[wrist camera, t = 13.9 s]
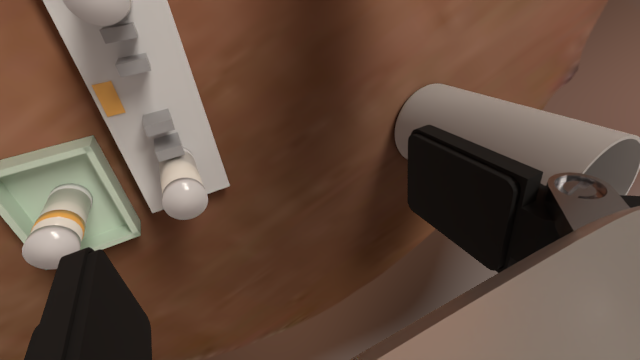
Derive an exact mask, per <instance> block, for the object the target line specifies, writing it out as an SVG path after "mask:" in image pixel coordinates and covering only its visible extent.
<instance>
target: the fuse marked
mask: <svg viewBox="0 0 640 360" xmlns="http://www.w3.org/2000/svg"><path fill="white" fill-rule="evenodd" d="M92 203H93V196H92V194H91V192H90V191H89V190H88V189H87V188H85V187H84V186H81V185H79V184H74V183H67V184H62V185H59V186H57V187H55V188H54V189H53V190H52V191H51V193H50V194H49V196H48V198H47V202H46V204H45V206H44V208H43V210H42V211H41V213H40V215H39V217H38V219H37V220H36V222H35V224H34V226H33V228H32V230H31V233H30V235H29V236H28V237H27V239H26V241H25V243H24V245H23V248H22V255H23V257H24V259H25V260H26V261H27V262H28V263H29V264H31V265H32V266H35V267H37V268H41V269H57V267H58V264H59V261H60V259H61V257H63V256H65V255H68V254H71V253H73V252H76V251H79V250H80V247H81V241H82V239H83V236H84V233H85V228H86V223H87V219H88V216H89V212H90V210H91V207H92Z"/></svg>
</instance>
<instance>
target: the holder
mask: <svg viewBox="0 0 640 360" xmlns="http://www.w3.org/2000/svg"><path fill="white" fill-rule="evenodd" d="M43 2H44V4H45V6H46V8H47V10H48V12H49V14H50V16H51V18H52V19H53V21H54V23H55V25H56V27H57V29H58V31H59V33H60V35H61V37H62V39H63V41H64V43H65V45H66V47H67V49H68V51H69V52H70V54H71V56H72V58H73V60H74V62H75V64H76V66H77V68H78V70H79V72H80V74H81V76H82V78H83V80H84V82H85V84H86V85H87V87H88V89H89V91H90V93H91V95H92V97H93V99H94V101H95V103H96V105H97V107H98V109H99V111H100V113H101V115H102V116H103V118H104V120H105V122H106V124H107V126H108V128H109V130H110V132H111V134H112V136H113V138H114V140H115V142H116V144H117V146H118V148H119V149H120V151H121V153H122V155H123V157H124V159H125V161H126V163H127V165H128V167H129V169H130V171H131V173H132V175H133V177H134V179H135V181H136V182H137V184H138V186H139V188H140V190H141V192H142V194H143V196H144V198H145V200H146V202H147V204H148V206H149V208H150V210H151V212H152V213H155V212H158V211H160V210H163V209H164V208H163V204H162V189H161V180H160V171H159V166H158V161H159V162H161V161H165V160H168V159H171V158H174V157H178V156H181V155H184V154H185V153H184V149H183V147H184V148H186V149H188V150H189V151H191V153H192V154H193V156H194V158H195V161H196V165H197V168H198V171H199V174H200V177H201V180H202V183H203V186H204V187H205V190H206V193H207V194H209V193H212V192H215V191H217V190H220V189H223V188H226V187H229V186H230V184H229V181H228V178H227V176H226V173H225V170H224V167H223V164H222V161H221V158H220V155H219V152H218V149H217V146H216V143H215V140H214V137H213V134H212V131H211V128H210V125H209V122H208V119H207V116H206V114H205V111H204V108H203V105H202V102H201V99H200V96H199V93H198V90H197V87H196V84H195V81H194V78H193V75H192V72H191V69H190V66H189V63H188V60H187V57H186V55H185V52H184V49H183V46H182V43H181V40H180V37H179V34H178V31H177V28H176V25H175V22H174V19H173V16H172V13H171V10H170V7H169V4H168V1H167V0H132V8H131V10H130V12H129V13H128V15H127V16H125V17H124V18H123V19H122V20H121V21H119V22H117V23H115V24H113V25H109V26H98V25H93V24H90V23H87V22H85V21H83V20H81V19H80V18H78V17H77V16H76V15H74V14H73V13H72V12H71V11H70V10H69V9H68V8H67V7H66V5H65V4H64V2H63V1H62V0H43Z"/></svg>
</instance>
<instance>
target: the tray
mask: <svg viewBox="0 0 640 360" xmlns="http://www.w3.org/2000/svg"><path fill="white" fill-rule="evenodd" d="M67 183H74V184H79V185H81V186H84V187H85V188H87V189H88V190H89V191H90V192H91V194H92V196H93V203H92V207H91V210H90V212H89V216H88V219H87V223H86V228H85V233H84V236H83V239H82V241H81V247H80V250H82V249H85V248H87V247H90V248H92V249H93V250H94V251H96V250H99V249H101V250H102V249H105V248H108V247H111V246H113V245H116V244H119V243H121V242H124V241H127V240H130V239H132V238H135V237H138V236H141V221H140V219H139V217H138V216H137V214H136V212H135V210H134V208H133V206H132V205H131V203H130V201H129V199H128V197H127V196H126V194H125V192H124V190H123V188H122V186H121V185H120V183H119V181H118V179H117V177H116V175H115V174H114V172H113V170H112V168H111V166H110V165H109V163H108V161H107V159H106V157H105V155H104V154H103V152H102V150H101V148H100V146H99V144H98V143H97V141H96V139H95V137H94V135H92V136H88V137H85V138H81V139H77V140H74V141H70V142H66V143H62V144H59V145H55V146H51V147H47V148H44V149H40V150H36V151H32V152H29V153H25V154H21V155H18V156H14V157H10V158H6V159H3V160H0V215H1V217H2V218H3V219H4V220H5V221H6V223H7V224H8V225H9V226H10V227H11V229H12V230H13V231H14V232H15V233H16V235H17V236H18V237H19V238H20V239H21V241H22V242H23V243H25V241H26V239H27V237H28V236H29V235H30V233H31V230H32V228H33V226H34V224H35V222H36V220H37V219H38V217H39V215H40V213H41V211H42V210H43V208H44V206H45V204H46V202H47V198H48V196H49V194H50V193H51V191H52V190H53V189H54V188H55V187H57V186H59V185H62V184H67ZM45 270H48V269H45Z"/></svg>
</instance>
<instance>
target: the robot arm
mask: <svg viewBox="0 0 640 360" xmlns="http://www.w3.org/2000/svg"><path fill="white" fill-rule="evenodd" d="M542 175H543V171H540V170H538V169H535V168H533V167H531V166H528V165H526V164H523V163H521V162H519V161H516V160H514V159H511V158H509V157H507V156H504V155H502V154H499V153H497V152H495V151H492V150H490V149H488V148H485V147H483V146H480V145H478V144H476V143H473V142H471V141H468V140H466V139H464V138H461V137H459V136H456V135H454V134H452V133H449V132H447V131H444V130H442V129H440V128H437V127H435V126H432V125H426V126H423V127H420V128H417V129H414V130H413V131H412V133H411V135H410V136H409V138H408V204H409V207H410V208H411V210H412V211H413V212H415V213H416V214H417V215H419V216H420V217H421V218H423V219H424V220H425V221H427V222H428V223H429V224H431V225H432V226H433V227H434V228H436V229H437V230H438V231H440V232H441V233H442V234H444V235H445V236H446V237H448V238H449V239H450V240H452V241H453V242H454V243H456V244H457V245H458V246H460V247H461V248H462V249H463V250H465V251H466V252H468V253H469V254H470V255H471V256H473V257H474V258H475V259H476V260H478V261H479V262H480V263H482V264H483V265H484V266H486V267H487V268H489V269H490V270H495V271H497V272H498V274H496V275H495V276H493V277H491V278H489V279H488V280H486V281H484V282H483V283H481V284H479V285H477V286H476V287H474V288H472V289H470V290H469V291H467V292H465V293H463V294H462V295H460V296H458V297H457V298H455V299H453V300H451V301H450V302H448V303H446V304H445V305H443V306H441V307H439V308H438V309H436V310H434V311H432V312H431V313H429V314H427V315H426V316H424V317H422V318H420V319H419V320H417V321H415V322H414V323H412V324H410V325H408V326H407V327H405V328H404V329H402V330H400V331H398V332H396V333H395V334H393V335H391V336H390V337H388V338H386V339H384V340H383V341H381V342H379V343H378V344H376V345H374V346H372V347H371V348H369V349H367V350H366V351H364V352H362V353H361V354H359V355H357V356H355V357H354V358H352V359H350V360H640V196H626V195H619V194H618V193H617V192H616V190H615V189H614V188H613V187H612V186H611V185H610V184H608V183H607V182H605V181H603V180H602V179H600V178H597V177H594V176H591V175H587V174H582V173H572V172H567V173H559V174H555V175H553V176H551V177H550V178H549V179H548V181H547V185H546V186H545V185H543V184H541V179H542ZM24 360H152V347H151V326H150V322H149V320H148V317H147V316H146V314H145V312H144V311H143V309H142V308H141V306H140V305H139V303H138V302H137V300H136V299H135V297H134V296H133V294H132V293H131V291H130V290H129V288H128V287H127V285H126V284H125V282H124V281H123V279H122V278H121V276H120V275H119V273H118V272H117V270H116V269H115V267H114V266H113V264H112V263H111V261H110V260H109V258H108V257H107V255H106V254H105V253H104V251H103V250H101V249H99V250H96V251H94V250H93V249H92V248H90V247H87V248H85V249H82V250H79V251H76V252H73V253H71V254H68V255H65V256H63V257H61V259H60V261H59V264H58V267H57V271H56V274H55V277H54V280H53V283H52V286H51V290H50V293H49V296H48V299H47V302H46V305H45V308H44V312H43V315H42V318H41V321H40V324H39V325H38V326H37V327H36V328H35V330H34V332H33V334H32V337H31V340H30V343H29V346H28V349H27V352H26V355H25V358H24Z"/></svg>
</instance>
